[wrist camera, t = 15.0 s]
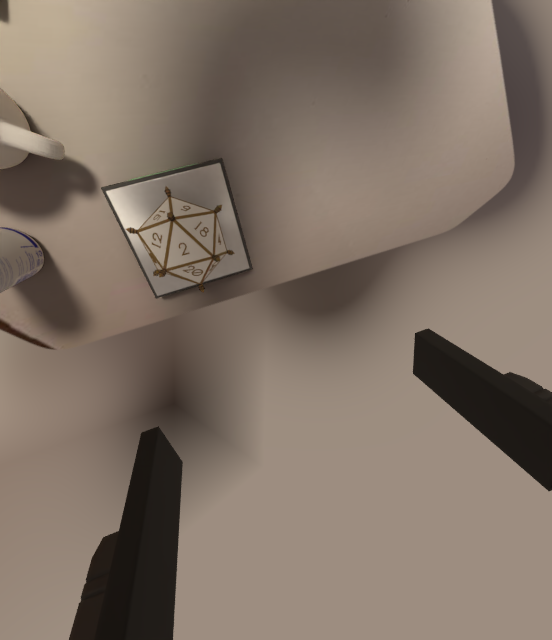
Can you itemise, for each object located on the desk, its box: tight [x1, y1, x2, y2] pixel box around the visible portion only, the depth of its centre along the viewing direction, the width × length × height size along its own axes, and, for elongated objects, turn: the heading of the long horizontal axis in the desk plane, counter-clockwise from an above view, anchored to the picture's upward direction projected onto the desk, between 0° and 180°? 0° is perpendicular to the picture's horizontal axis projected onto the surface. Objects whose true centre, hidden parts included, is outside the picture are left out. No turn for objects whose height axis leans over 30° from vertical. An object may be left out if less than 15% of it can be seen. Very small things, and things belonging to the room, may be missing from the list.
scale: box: [101, 158, 253, 298], centre depth 30 cm, size 12×12×2 cm
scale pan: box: [106, 163, 249, 296], centre depth 29 cm, size 11×11×1 cm
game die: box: [126, 186, 235, 292], centre depth 25 cm, size 9×8×10 cm
